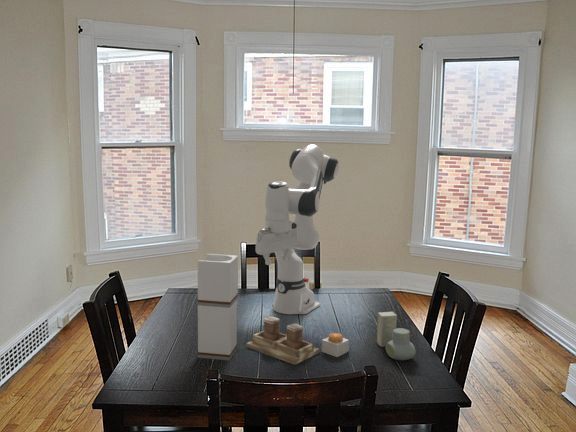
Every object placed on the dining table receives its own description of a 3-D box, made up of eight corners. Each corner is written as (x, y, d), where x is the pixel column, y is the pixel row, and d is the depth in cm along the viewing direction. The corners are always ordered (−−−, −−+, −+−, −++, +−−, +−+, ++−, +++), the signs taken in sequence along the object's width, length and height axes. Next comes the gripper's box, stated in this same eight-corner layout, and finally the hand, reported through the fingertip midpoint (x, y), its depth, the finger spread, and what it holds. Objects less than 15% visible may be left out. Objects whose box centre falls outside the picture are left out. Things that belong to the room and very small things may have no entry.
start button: (333, 340, 212) (334, 331, 212) (344, 344, 209) (345, 335, 208) (325, 344, 208) (326, 335, 208) (336, 348, 205) (337, 339, 205)
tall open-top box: (237, 348, 210) (238, 255, 204) (229, 360, 199) (230, 262, 194) (207, 345, 212) (207, 253, 206) (198, 357, 201) (197, 260, 195)
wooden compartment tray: (271, 336, 222) (272, 310, 220) (319, 352, 208) (320, 325, 206) (246, 346, 212) (246, 319, 210) (294, 365, 197) (295, 336, 195)
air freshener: (382, 352, 210) (384, 326, 208) (403, 350, 212) (405, 324, 210) (396, 364, 199) (397, 337, 198) (417, 362, 202) (419, 335, 200)
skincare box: (391, 341, 220) (393, 311, 218) (395, 346, 216) (397, 315, 214) (376, 342, 219) (377, 311, 217) (379, 346, 214) (381, 315, 212)
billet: (294, 346, 209) (295, 323, 207) (302, 350, 206) (302, 326, 204) (286, 349, 206) (286, 325, 205) (293, 353, 203) (294, 329, 202)
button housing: (332, 346, 214) (333, 334, 213) (348, 351, 210) (348, 339, 209) (321, 351, 209) (322, 340, 208) (337, 357, 204) (337, 345, 204)
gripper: (264, 231, 202) (264, 269, 205) (300, 223, 218) (300, 258, 220) (251, 228, 206) (251, 266, 209) (288, 220, 222) (287, 255, 224)
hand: (276, 262), depth 215 cm, fingers open, 8 cm apart
